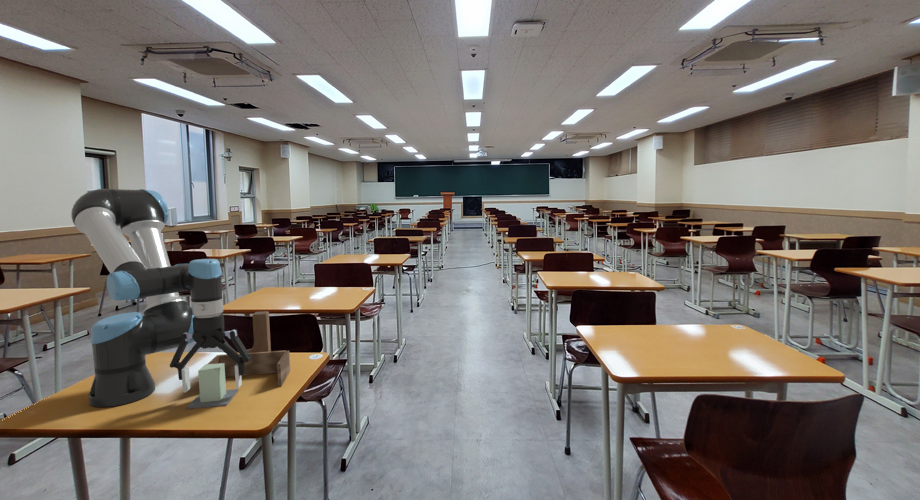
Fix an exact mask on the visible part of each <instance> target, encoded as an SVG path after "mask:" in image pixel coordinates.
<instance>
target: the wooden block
mask: <svg viewBox="0 0 920 500" xmlns="http://www.w3.org/2000/svg"><path fill="white" fill-rule="evenodd" d="M252 331H253V346H252V348H249V349H246V350H247V351H248V353H256V352H271V351H272V348H271V347H272V346H271V345H272V343H271V330H270V312H269V311H267V310H264V311H263V310H262V311H255V312H254V313H253V314H252Z"/></svg>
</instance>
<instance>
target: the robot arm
mask: <svg viewBox="0 0 920 500" xmlns="http://www.w3.org/2000/svg"><path fill="white" fill-rule="evenodd" d="M168 211H169V208H168V205H167V202H166V200H165V198H164V197H163V196H162V195H161V193H159V192H157V191H156V190H149V189H147V190H146V189H142V188H141V189H140V188H139V189H113V188H99V189H98V188H97V189H95V190H94V189H93V190H91V191H88V192H86V193H84V194H83V195H81V196H79V198H78V199H77V200H76V201H75V202H74V204H73V206H72V209H71V215H70V216H71V220H72V223H73V224H74V226H75V228H76V230H78V232H81V234H84V235H85V236H86V238H87V239H88V240H89V242H90V243H91V245H92V247H93V248H94V250H95V251H96V253H97V255H98V257H99V258H100V259H101V261H102V262H103V264H104V266H105V268H106V269H107V271H108V272H109V274H108V275H107V278H106V289H107V291H108V295H109V297H110V298H111V299H112V300H114V301H125V300H126V301H127V300H130V301H131V300H137V299H143V298H145V299H146V303H147V306H146V307H145V309H144V310H143V315H142V313H141V312H138V311H133V312H132V311H131V312H125V313H119V314H115V315H112V316H109V317H105V318H103V319H100V320H98V321H96V322H95V323H94V324H93V325H92V327H91V328H90V329H91V330H90V331H91V332H90V337H91V339H90V343H91V346H92V347H91V349H92V357H93V367H94V369H93V370H94V378H93V381H92V383H91V384H92V385H91V387H90V390H89V394H88V404H89V406H91V407H94V408H95V407H96V408H107V407H108V408H110V407H117V406H122V405H125V404H126V405H127V404H130V403H134V402H137V401H139V400H143V399H144V398H146V397H148V396H150V395H151V394H153V393H154V392H155V390H156V382H155V379H154V377H153V376H152V374H151V372H150V370H149V369H148V367H147V364H146V363H147V362H146V356H148V355H151V354H156V353H159V352H165V351H167V350H172V349H176V348H177V349H176V351H175V353H174V355H173V357H172V359H171V361H170V363H169V367H170V368H172V369H173V368H175V369H177V373H178V375H177V376H178V380H179V381H181V382H182V392H183V393H187V392H188V391H189V390H190V389H191V379H190V367H189V365H187V364H188V363H189V362H190V360H191V359H192V358H193V357H194V356H195V354H196V353H197V352H198V351H199V350H200V348H201V349H203V350H204V349H205V350H206V349H215V348H219V350H222V351H223V352H224V353H225V355H226V354H227V355H228V356H229V357H230V358H231V359H233V360H234V361H235V362H236V363H237V364H236V365H235V376H234V377H235V389H239V388H241V386H242V384H243V380H242V376H244V375H243V374H244V372H245V369H244V363H246V362H248V361H249V360H250V359H251V356H250V354H249V353H248V351H247V350H248V349H247V348H246V346H245V345H244V344H243V342H242V340H241V339H240V337H239V335H238V334H239V333H238V330H237V329H236V328H234V329H232V330H227V331H226V329H225V318H224V317H225V316H224V314H223V313H224V304H223V303H224V301H223V290H222V289H223V286H222V285H223V284H222V270H221V263H220V261H219V259H216V258H201V259H193V260H191V261H189V263H177V264H175V265H171V263H170V259H169V256H168V255H169V254H168V252H167V249H166V246H165V245H166V244H165V241H164V239H163V235H162V231H163V229H164V228H165V224H166V223H167V222H168V219H169V212H168ZM119 227H120V228H119ZM125 236H127V237H129V241H128V240H127V238H126V237H125ZM181 292H190V303H191V306H189V305H188V301H187V300H186V299H184V298H181V297H180V294H179V293H181ZM226 337H227V338H228V339H229V340H230V341H231V343H232V344H233V346H234V347H235V349H236V350H237V351H236V350H235V349H234V348H233V347H232V346H231V345H230V344H229V342H228V341H227V340H226V339H225V338H226ZM194 342H195V344H194V345H193V346H192V348H191V349H190V350H189V352H187V354H186V355H185V357H184V358H183V359H182V360H181V358H182V356H183V354H184V352H185V350H186V348H187V345H190V344H193V343H194ZM239 354H240V355H241V356H240V355H239ZM180 360H181V361H180Z"/></svg>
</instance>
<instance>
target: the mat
mask: <svg viewBox="0 0 920 500" xmlns="http://www.w3.org/2000/svg"><path fill="white" fill-rule="evenodd" d="M238 392H239V388H235V389H234V388H233V389H226V394H225V395H224V396H223V398H222V399H221V400H220V401H210V402H200V393H199V394H198V395H197V396H196V397H195V398H194V399H193V400H192V401H191V402H190V403H189V405H187V406H186V410H189V409H201V408H202V409H203V408H213V407H214V408H215V407H224V406H225V407H226V406H228V405H229V403H230V402H231V401H232V400H233V398H234V397H235V396H236V394H237V393H238Z"/></svg>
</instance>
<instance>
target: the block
mask: <svg viewBox="0 0 920 500" xmlns="http://www.w3.org/2000/svg"><path fill="white" fill-rule="evenodd" d="M197 371H198V372H197V373H198V384H199V385H198V386H199V387H198V388H199V394H200V402H210V401H220V400H221V399H222V398H223V396H224V395H225V394H226V390H227V386H226V382H227V381H226V377H225V366H224V363H219V364H208V363H205V364H204V365H203V366H202V367H201V368H199V369H198V370H197Z"/></svg>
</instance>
